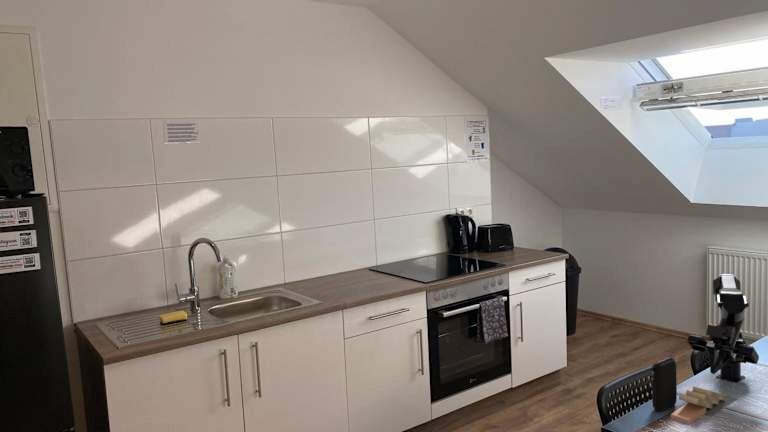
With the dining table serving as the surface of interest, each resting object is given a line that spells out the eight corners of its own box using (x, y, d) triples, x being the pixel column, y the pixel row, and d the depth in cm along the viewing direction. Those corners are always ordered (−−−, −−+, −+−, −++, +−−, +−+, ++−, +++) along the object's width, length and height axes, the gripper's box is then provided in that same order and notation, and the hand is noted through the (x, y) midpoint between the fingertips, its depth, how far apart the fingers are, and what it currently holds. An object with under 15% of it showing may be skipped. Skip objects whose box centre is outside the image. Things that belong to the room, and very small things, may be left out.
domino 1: (695, 398, 175) (679, 393, 169) (713, 403, 171) (697, 398, 165) (694, 403, 175) (678, 399, 169) (711, 408, 171) (696, 404, 165)
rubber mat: (706, 391, 183) (706, 390, 183) (737, 400, 176) (737, 398, 176) (678, 408, 173) (678, 407, 173) (711, 418, 166) (711, 416, 166)
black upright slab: (657, 416, 169) (656, 366, 168) (647, 412, 172) (646, 363, 170) (679, 406, 175) (678, 357, 173) (669, 402, 177) (668, 354, 176)
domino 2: (688, 402, 172) (670, 414, 166) (706, 407, 168) (688, 419, 162) (688, 407, 173) (670, 419, 167) (706, 412, 169) (689, 425, 163)
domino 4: (708, 390, 180) (693, 386, 174) (725, 395, 176) (711, 390, 170) (707, 396, 179) (692, 391, 174) (724, 400, 175) (710, 396, 170)
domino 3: (701, 394, 177) (686, 389, 171) (719, 399, 173) (704, 394, 167) (700, 399, 177) (685, 395, 171) (718, 404, 173) (703, 400, 167)
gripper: (688, 308, 185) (670, 352, 179) (754, 319, 170) (737, 367, 164) (701, 327, 190) (684, 370, 185) (766, 340, 175) (749, 386, 170)
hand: (712, 373), depth 176 cm, fingers closed
